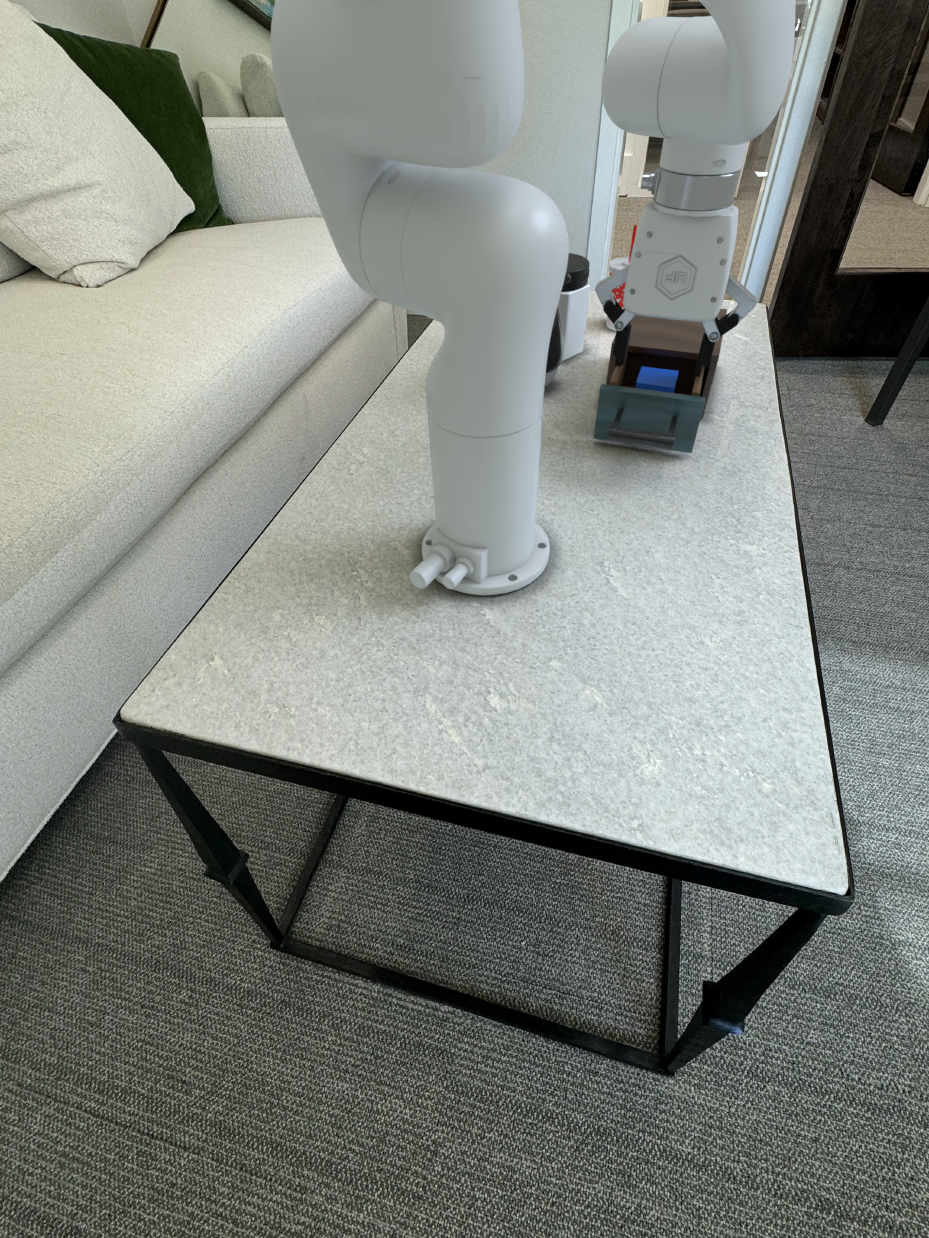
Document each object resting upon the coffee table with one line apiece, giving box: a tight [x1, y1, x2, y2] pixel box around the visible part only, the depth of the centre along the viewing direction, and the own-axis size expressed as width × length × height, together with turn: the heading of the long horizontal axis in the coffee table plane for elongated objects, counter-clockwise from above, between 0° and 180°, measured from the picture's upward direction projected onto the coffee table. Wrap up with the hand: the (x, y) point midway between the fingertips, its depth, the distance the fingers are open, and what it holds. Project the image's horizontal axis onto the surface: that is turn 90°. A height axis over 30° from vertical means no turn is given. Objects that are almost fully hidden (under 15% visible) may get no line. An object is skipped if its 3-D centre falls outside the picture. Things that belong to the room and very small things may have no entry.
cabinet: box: [605, 308, 728, 420], centre depth 84 cm, size 15×13×8 cm
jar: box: [558, 252, 591, 362], centre depth 92 cm, size 9×8×12 cm
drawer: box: [593, 352, 706, 454], centre depth 75 cm, size 20×11×6 cm, turn 161°
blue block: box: [635, 366, 679, 393], centre depth 77 cm, size 4×4×4 cm
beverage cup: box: [605, 224, 638, 332], centre depth 96 cm, size 6×6×14 cm
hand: (659, 366), depth 75 cm, fingers open, 8 cm apart
